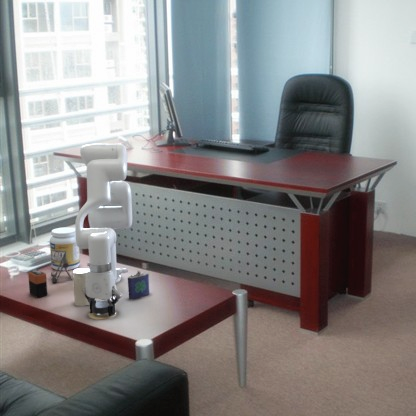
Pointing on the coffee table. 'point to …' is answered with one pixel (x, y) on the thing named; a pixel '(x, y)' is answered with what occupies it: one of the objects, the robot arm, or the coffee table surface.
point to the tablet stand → (64, 265)
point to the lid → (100, 307)
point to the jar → (80, 286)
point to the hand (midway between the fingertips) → (102, 313)
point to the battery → (37, 283)
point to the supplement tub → (64, 248)
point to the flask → (138, 286)
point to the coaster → (101, 316)
